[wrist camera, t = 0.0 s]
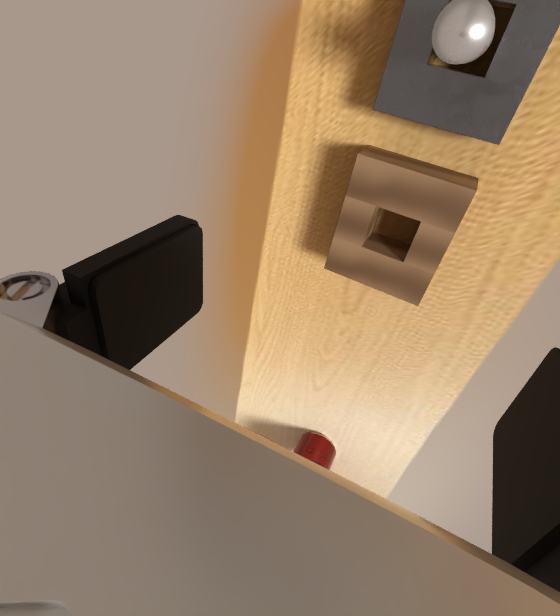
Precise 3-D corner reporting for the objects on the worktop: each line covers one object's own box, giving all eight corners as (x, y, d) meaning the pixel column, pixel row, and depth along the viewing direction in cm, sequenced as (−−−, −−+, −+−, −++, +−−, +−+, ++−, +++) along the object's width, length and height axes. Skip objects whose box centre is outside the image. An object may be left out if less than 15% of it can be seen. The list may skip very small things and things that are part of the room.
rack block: (370, 145, 43) (357, 153, 39) (478, 178, 40) (476, 190, 36) (337, 252, 51) (324, 268, 47) (424, 286, 48) (417, 306, 44)
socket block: (439, -79, 32) (432, -93, 29) (595, -56, 29) (607, -70, 26) (382, 106, 40) (372, 109, 37) (498, 138, 37) (498, 144, 34)
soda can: (308, 455, 76) (283, 508, 67) (296, 428, 74) (268, 480, 65) (341, 459, 73) (319, 516, 63) (330, 431, 70) (305, 486, 61)
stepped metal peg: (443, 28, 35) (425, 16, 26) (490, 1, 33) (487, -21, 24) (454, 71, 36) (440, 75, 27) (499, 49, 34) (500, 45, 25)
